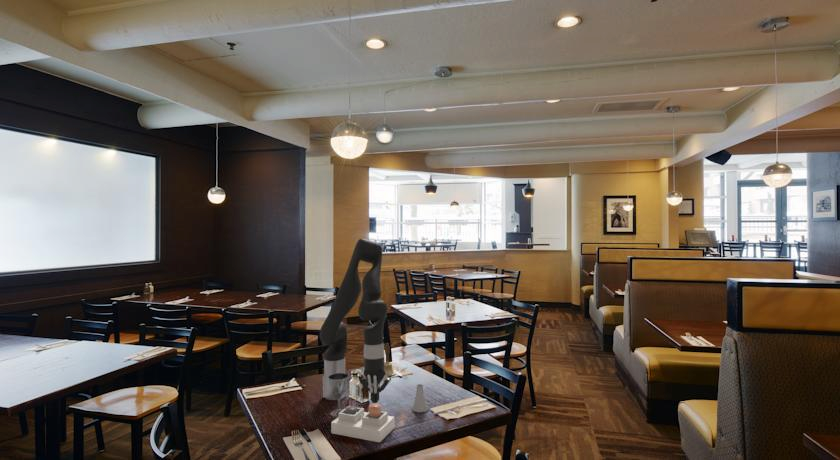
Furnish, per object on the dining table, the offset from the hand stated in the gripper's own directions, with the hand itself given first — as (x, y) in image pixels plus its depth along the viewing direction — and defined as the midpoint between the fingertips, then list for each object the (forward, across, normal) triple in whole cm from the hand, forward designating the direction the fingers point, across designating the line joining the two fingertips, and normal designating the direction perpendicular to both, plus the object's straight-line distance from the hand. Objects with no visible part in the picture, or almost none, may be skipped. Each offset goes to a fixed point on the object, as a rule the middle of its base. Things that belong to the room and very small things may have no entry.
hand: (375, 402), depth 157 cm
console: (+11, -5, 0) cm, 12 cm away
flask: (+11, +8, +24) cm, 28 cm away
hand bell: (+11, -24, +58) cm, 64 cm away
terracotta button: (+4, 0, 0) cm, 4 cm away
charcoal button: (+7, -10, 0) cm, 12 cm away
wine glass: (+11, -22, +10) cm, 27 cm away
